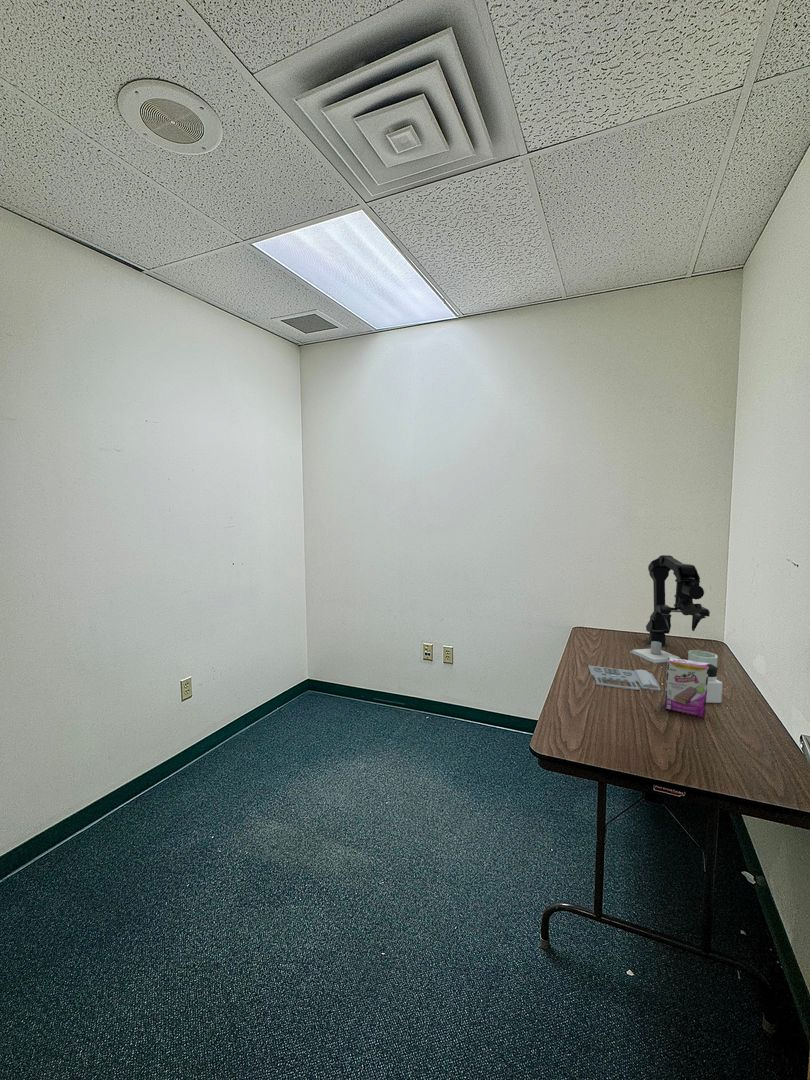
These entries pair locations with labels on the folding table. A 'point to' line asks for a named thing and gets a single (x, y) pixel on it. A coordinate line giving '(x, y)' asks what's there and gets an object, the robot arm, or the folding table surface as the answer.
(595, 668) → the office telephone
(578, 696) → the folding table surface
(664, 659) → the lid
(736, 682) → the folding table surface
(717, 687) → the medicine bottle
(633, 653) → the mat
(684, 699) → the candy bar box
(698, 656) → the bowl
